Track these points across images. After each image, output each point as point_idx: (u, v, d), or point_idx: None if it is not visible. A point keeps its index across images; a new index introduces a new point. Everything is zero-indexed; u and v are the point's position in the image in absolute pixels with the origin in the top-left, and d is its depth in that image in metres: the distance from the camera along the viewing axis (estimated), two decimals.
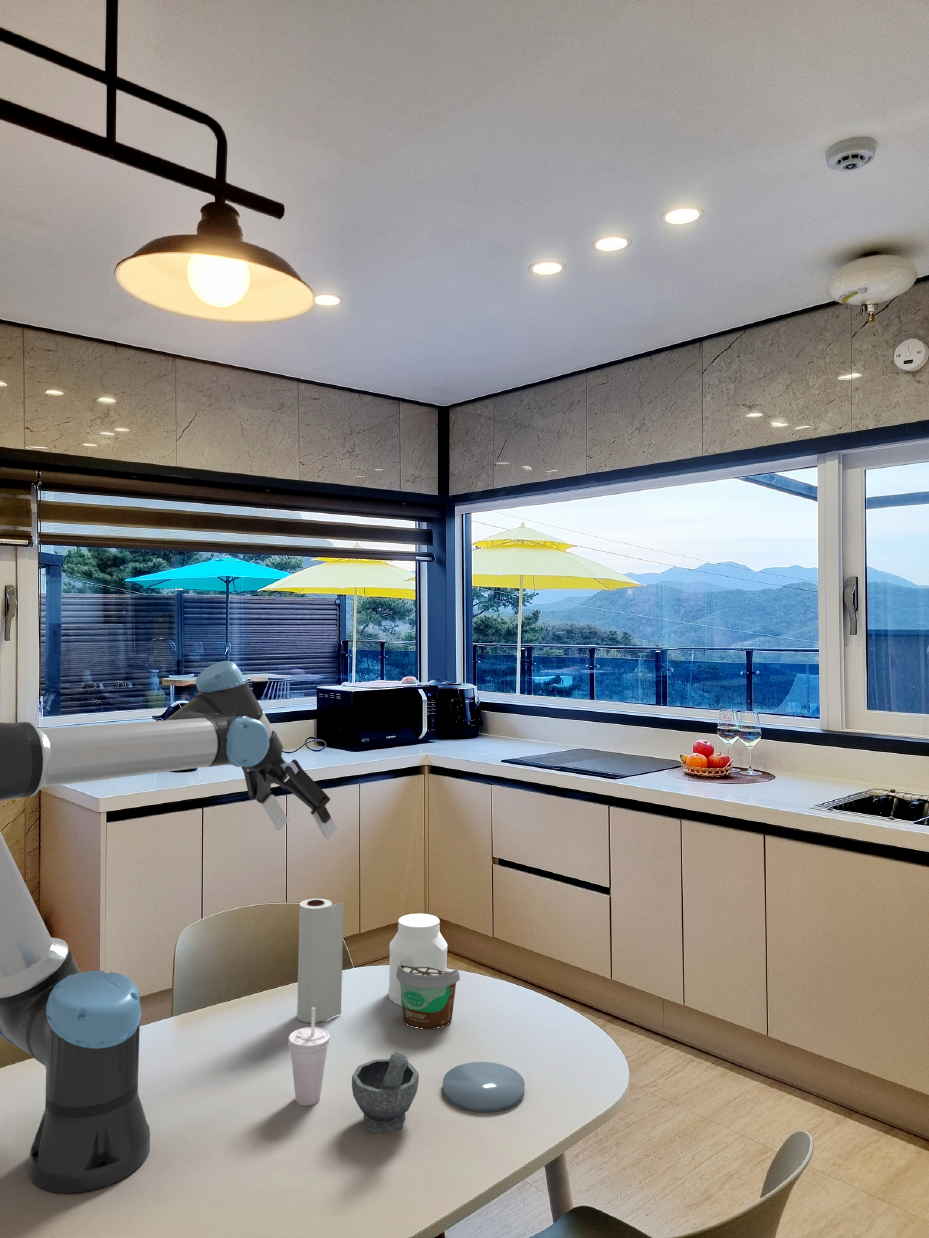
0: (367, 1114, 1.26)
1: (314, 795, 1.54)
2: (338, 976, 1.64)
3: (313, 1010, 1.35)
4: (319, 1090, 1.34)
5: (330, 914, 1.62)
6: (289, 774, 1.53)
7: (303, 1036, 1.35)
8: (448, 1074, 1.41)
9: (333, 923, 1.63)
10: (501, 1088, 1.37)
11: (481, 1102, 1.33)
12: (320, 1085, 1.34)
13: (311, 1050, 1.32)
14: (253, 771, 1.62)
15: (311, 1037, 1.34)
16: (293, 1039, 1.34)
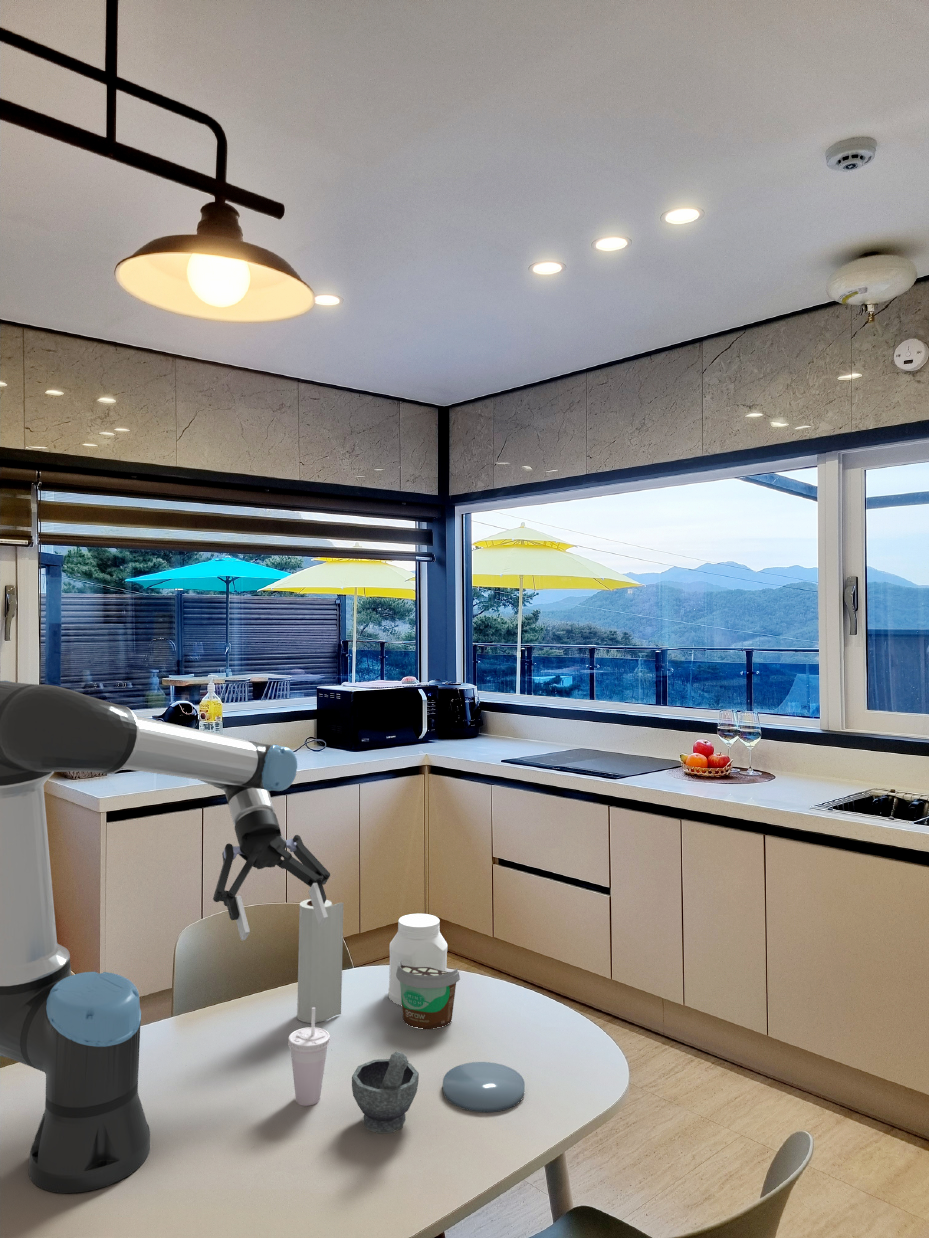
0: (367, 1114, 1.26)
1: None
2: (338, 976, 1.64)
3: (313, 1010, 1.35)
4: (319, 1090, 1.34)
5: (330, 914, 1.62)
6: (299, 841, 1.56)
7: (303, 1036, 1.35)
8: (448, 1074, 1.41)
9: (333, 923, 1.63)
10: (501, 1088, 1.37)
11: (481, 1102, 1.33)
12: (320, 1085, 1.34)
13: (311, 1050, 1.32)
14: None
15: (311, 1037, 1.34)
16: (293, 1039, 1.34)
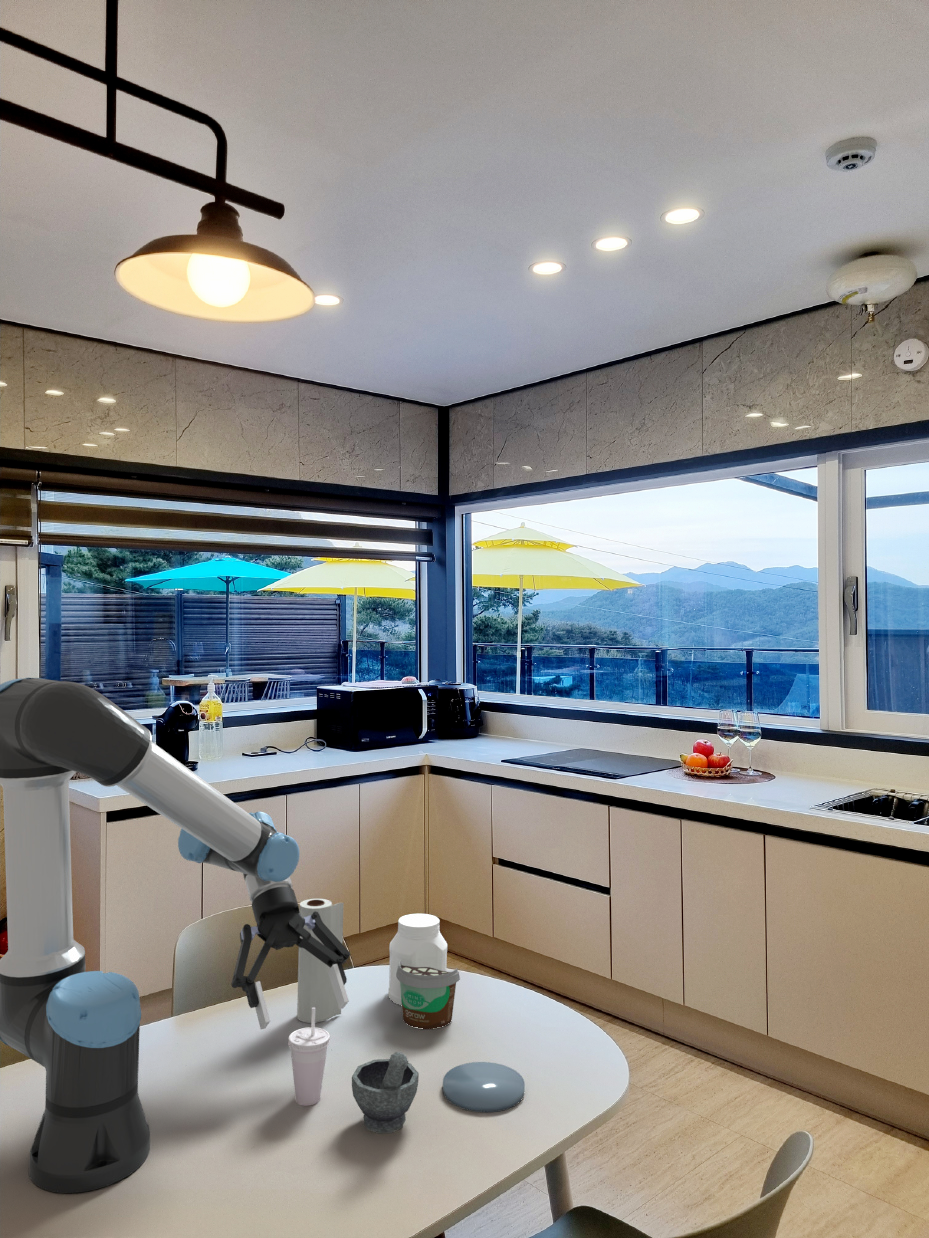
0: (367, 1114, 1.26)
1: None
2: None
3: (313, 1010, 1.35)
4: (319, 1090, 1.34)
5: (330, 914, 1.62)
6: (318, 918, 1.52)
7: (303, 1036, 1.35)
8: (448, 1074, 1.41)
9: (333, 923, 1.63)
10: (501, 1088, 1.37)
11: (481, 1102, 1.33)
12: (320, 1085, 1.34)
13: (311, 1050, 1.32)
14: None
15: (311, 1037, 1.34)
16: (293, 1039, 1.34)
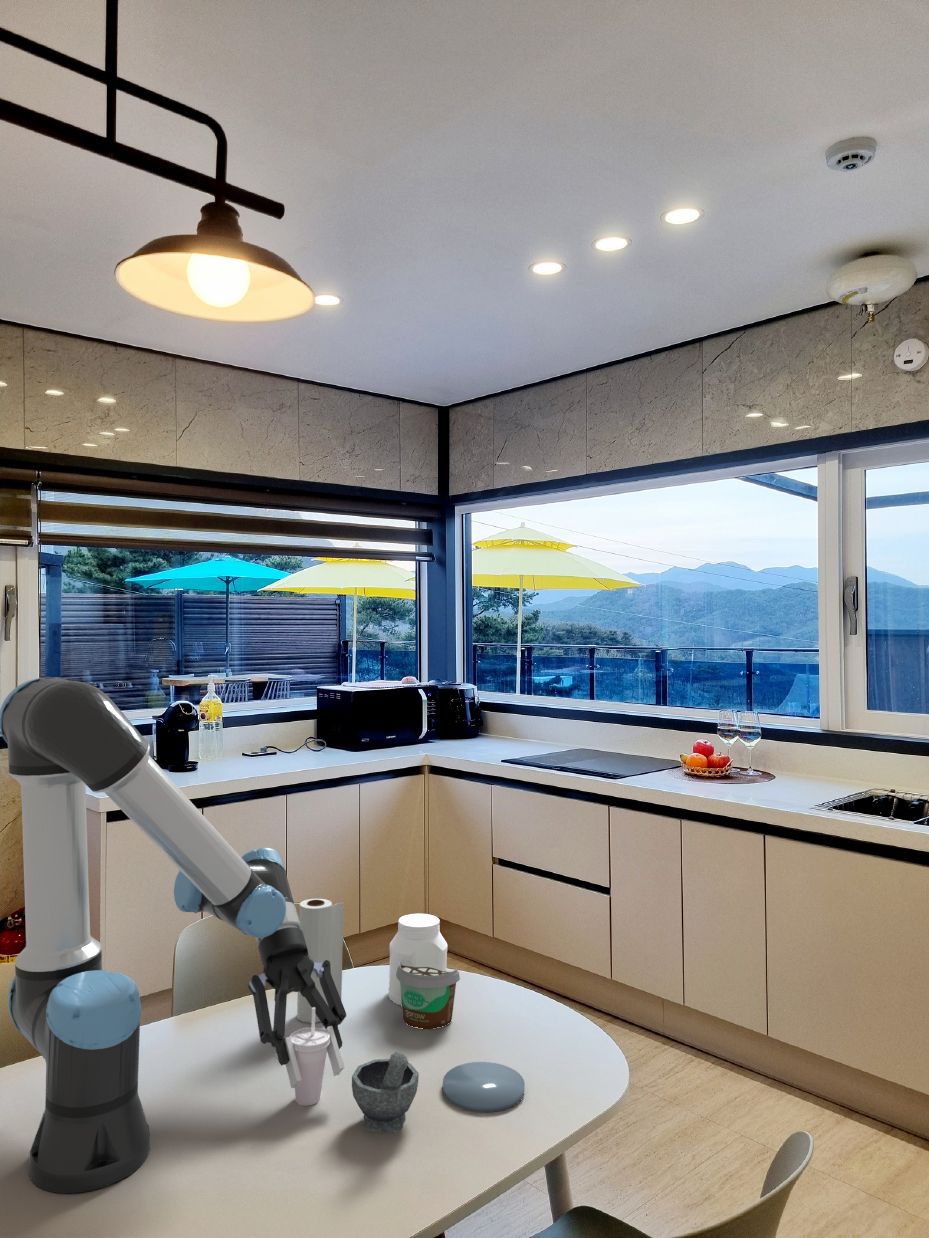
0: (367, 1114, 1.26)
1: None
2: (338, 976, 1.64)
3: (313, 1010, 1.35)
4: (319, 1090, 1.34)
5: (330, 914, 1.62)
6: (327, 968, 1.44)
7: (303, 1036, 1.35)
8: (448, 1074, 1.41)
9: (333, 923, 1.63)
10: (501, 1088, 1.37)
11: (481, 1102, 1.33)
12: (320, 1085, 1.34)
13: (311, 1050, 1.32)
14: None
15: (311, 1037, 1.34)
16: (293, 1039, 1.34)
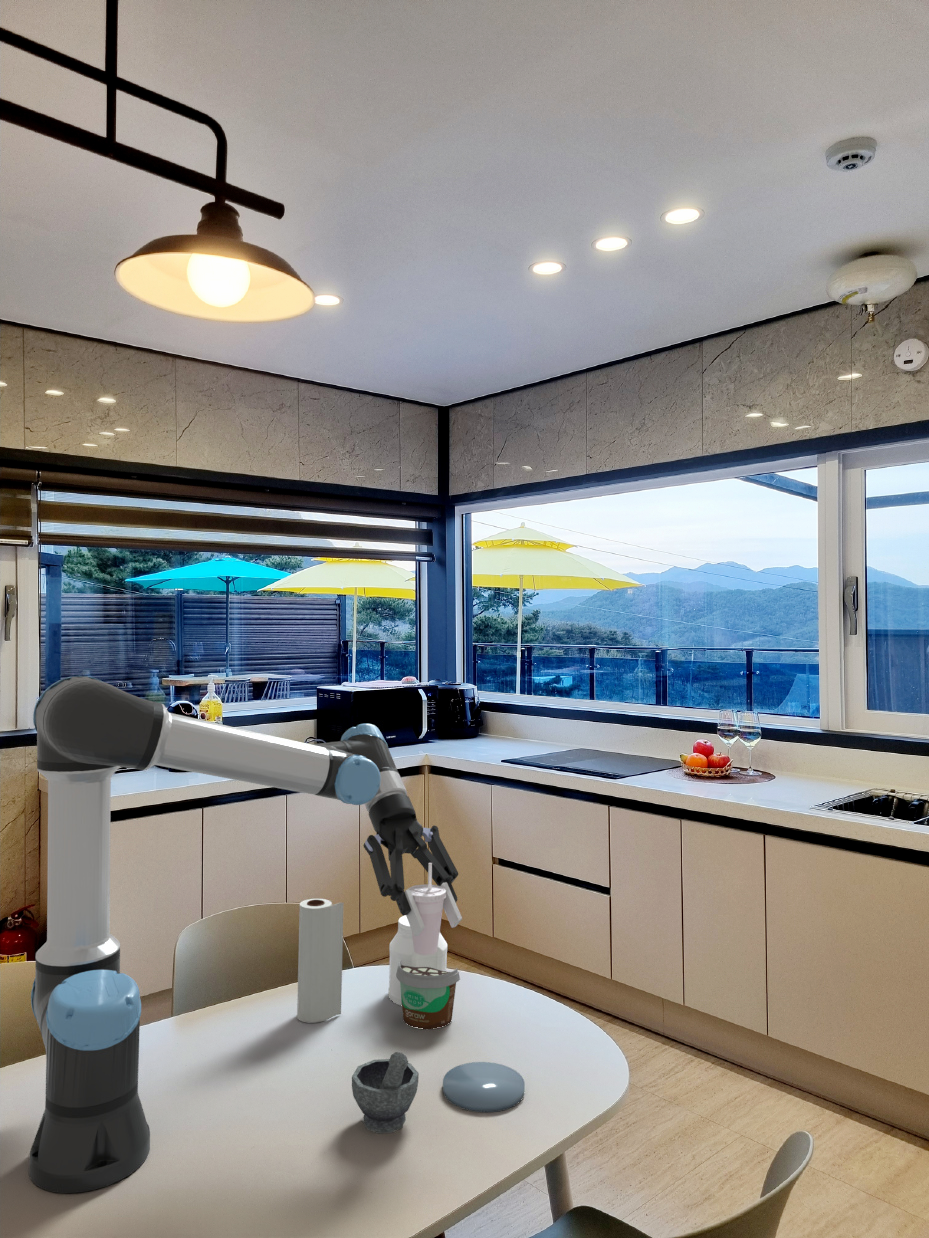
0: (367, 1114, 1.26)
1: None
2: (338, 976, 1.64)
3: (430, 865, 1.39)
4: (437, 941, 1.39)
5: (330, 914, 1.62)
6: (436, 832, 1.49)
7: (421, 890, 1.39)
8: (448, 1074, 1.41)
9: (333, 923, 1.63)
10: (501, 1088, 1.37)
11: (481, 1102, 1.33)
12: (438, 936, 1.39)
13: (431, 901, 1.37)
14: None
15: (429, 890, 1.39)
16: (412, 892, 1.39)
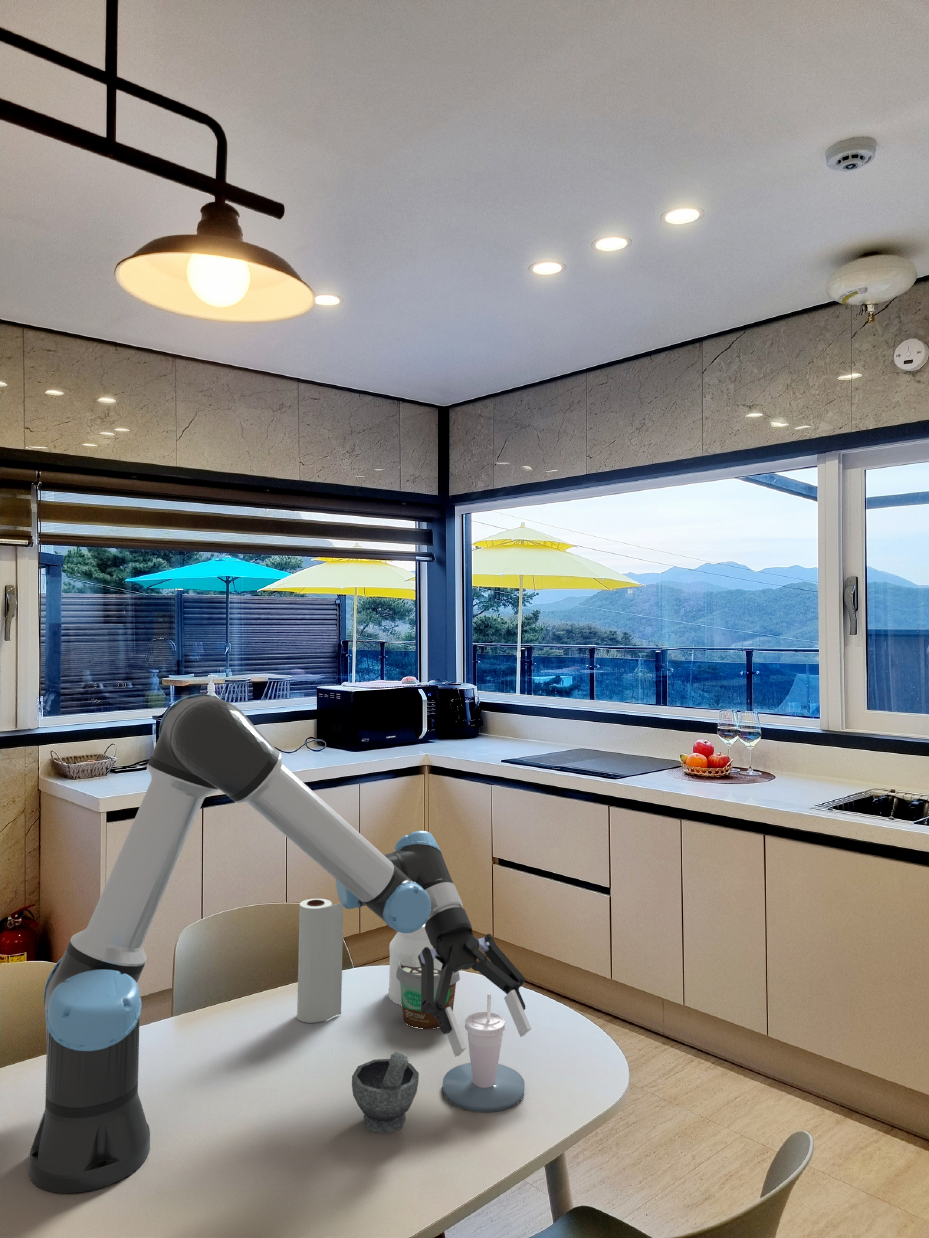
0: (367, 1114, 1.26)
1: None
2: (338, 976, 1.64)
3: (489, 996, 1.38)
4: (496, 1073, 1.38)
5: (330, 914, 1.62)
6: (491, 941, 1.48)
7: (480, 1021, 1.38)
8: (448, 1074, 1.41)
9: (333, 923, 1.63)
10: (501, 1088, 1.37)
11: (481, 1102, 1.33)
12: (496, 1068, 1.38)
13: (490, 1035, 1.36)
14: None
15: (488, 1022, 1.38)
16: (471, 1024, 1.38)
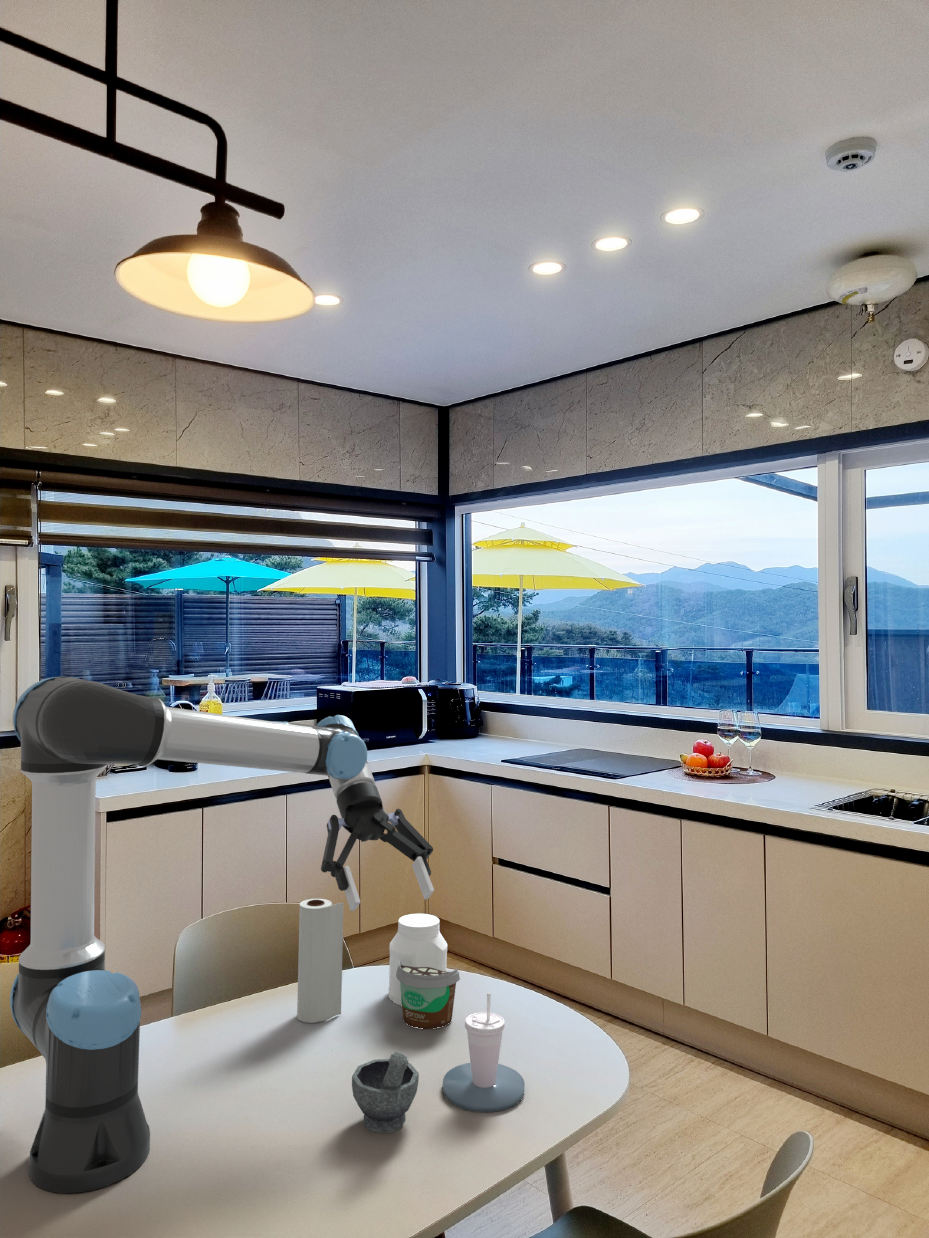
0: (367, 1114, 1.26)
1: None
2: (338, 976, 1.64)
3: (489, 995, 1.39)
4: (496, 1073, 1.38)
5: (330, 914, 1.62)
6: (401, 815, 1.54)
7: (479, 1020, 1.38)
8: (448, 1074, 1.41)
9: (333, 923, 1.63)
10: (501, 1088, 1.37)
11: (481, 1102, 1.33)
12: (496, 1068, 1.38)
13: (490, 1034, 1.36)
14: None
15: (487, 1021, 1.38)
16: (470, 1023, 1.38)
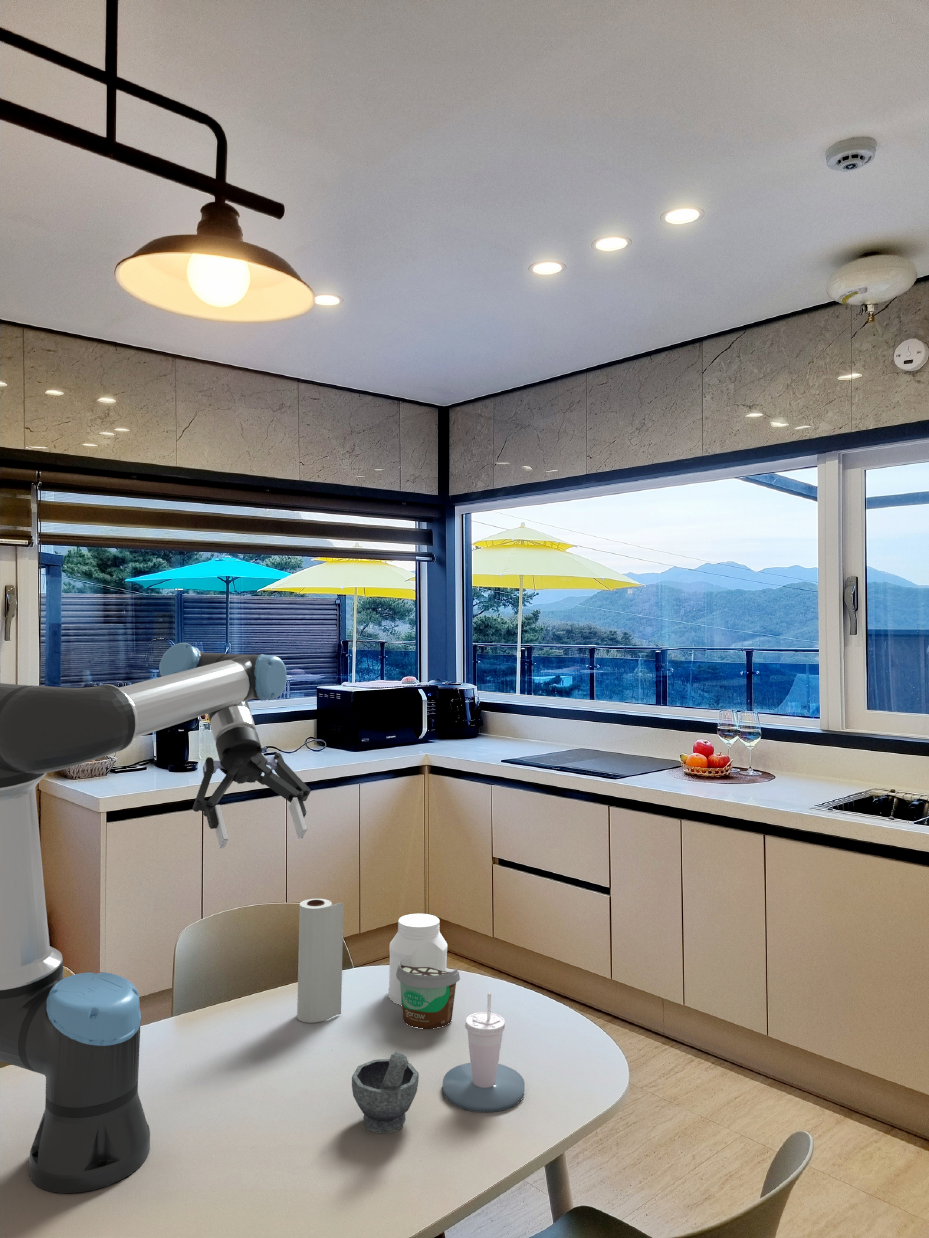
0: (367, 1114, 1.26)
1: None
2: (338, 976, 1.64)
3: (489, 995, 1.39)
4: (496, 1073, 1.38)
5: (330, 914, 1.62)
6: (280, 758, 1.57)
7: (480, 1020, 1.38)
8: (448, 1074, 1.41)
9: (333, 923, 1.63)
10: (501, 1088, 1.37)
11: (481, 1102, 1.33)
12: (496, 1068, 1.38)
13: (490, 1034, 1.36)
14: None
15: (488, 1021, 1.38)
16: (471, 1023, 1.38)
